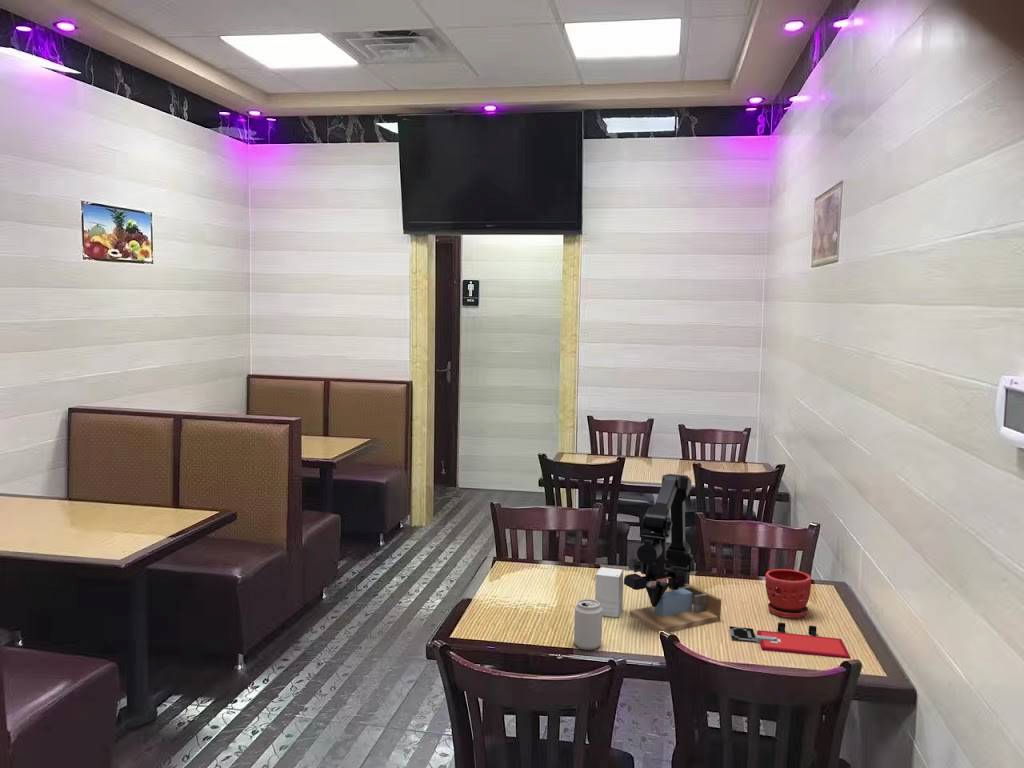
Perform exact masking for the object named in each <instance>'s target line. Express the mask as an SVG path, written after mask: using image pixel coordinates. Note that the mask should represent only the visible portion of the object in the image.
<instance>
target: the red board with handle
mask: <svg viewBox="0 0 1024 768" xmlns="http://www.w3.org/2000/svg"><path fill="white" fill-rule="evenodd" d="M728 627H729V632H730V637H731V639H733V640H744V641H751V642H755V643H756V644H759V647H760V648H761V649H760V650H761V651H766V652H776V653H777V652H778V653H784V654H787V653H788V654H796V655H798V654H799V655H807V656H818V657H827V658H828V657H829V658H840V659H849V660H850V659H851V655H850V653H849V650H848V649H847V647H846V645H845V643H844V641H843V639H842V638H836V637H828V636H827V637H826V636H817V626H816V625H808V635H807V634H797V633H791V632H786V623H785V622H779V621H778V622H777V631H769V630H762V629H761V630H760V629H757V630H756V635H755V632H754V628H750V627H743V626H742V627H741V626H731V625H729V626H728Z"/></svg>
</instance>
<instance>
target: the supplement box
mask: <svg viewBox="0 0 1024 768" xmlns="http://www.w3.org/2000/svg"><path fill="white" fill-rule="evenodd" d="M594 576H595V583H594V585H595V587H594V589H595V591H594V592H595V593H594V595H595V596H594V598H595V599H594V600H596V601H598V602H599V603H600V606H601V607H602V617H609V616H610V617H612V618H617V617H618V618H619V617H620V616H621V613H622V612H623V610H624V608H623V607H624V604H623V603H624V602H623V601H624V569H618V568H611V567H609V568H608V567H603V566H602V567H600V568H599V569H598V571H597V572H596V573H595V575H594Z"/></svg>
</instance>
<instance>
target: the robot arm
mask: <svg viewBox="0 0 1024 768" xmlns="http://www.w3.org/2000/svg"><path fill="white" fill-rule="evenodd" d="M661 477H662V478H661V486H660V489H659V492H658V494H657V498H656V500H655V502H654V504H653V505H652V506H650V507H649V508H647V511H646V512H645V514H644V515H643V517H642V523H641V528H640V532H639V538H644V541H643V543H642V544H641V545H640V546H639V547H638V549H637V551H636V556H637V558H631V559H630V558H629V559H628V568H629V571H633V573H630V574H626V575H625V576H623V585H624V586H627V587H628V588H630V589H632V590H634V591H635V590H636V591H639V590H646V593H647V594H648V595H647V596H648V599H649V601H650V604H651V606H653V607H656V606H657V604H658V602H659V600H660V599H661V597H662V595H663V594H664V592H667V589H669V588H670V589H673V590H678V588H680V587H684V584H689V585H690V580H691V579H690V574H691V573H692V572H695V565H696V564H695V559H694V557H693V553H691V546H690V544H689V543H688V541H687V540H686V499H687V497H688V495H689V494H690V491H691V490H692V479H691V477H690V476H688V475H685V474H676V473H675V474H673V473H666V474H663V475H662V476H661ZM668 538H670V539H671V540H670V543H669V545H668V547H667V540H668ZM638 572H640V574H641V575H643V576H641V575H639V574H638Z"/></svg>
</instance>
